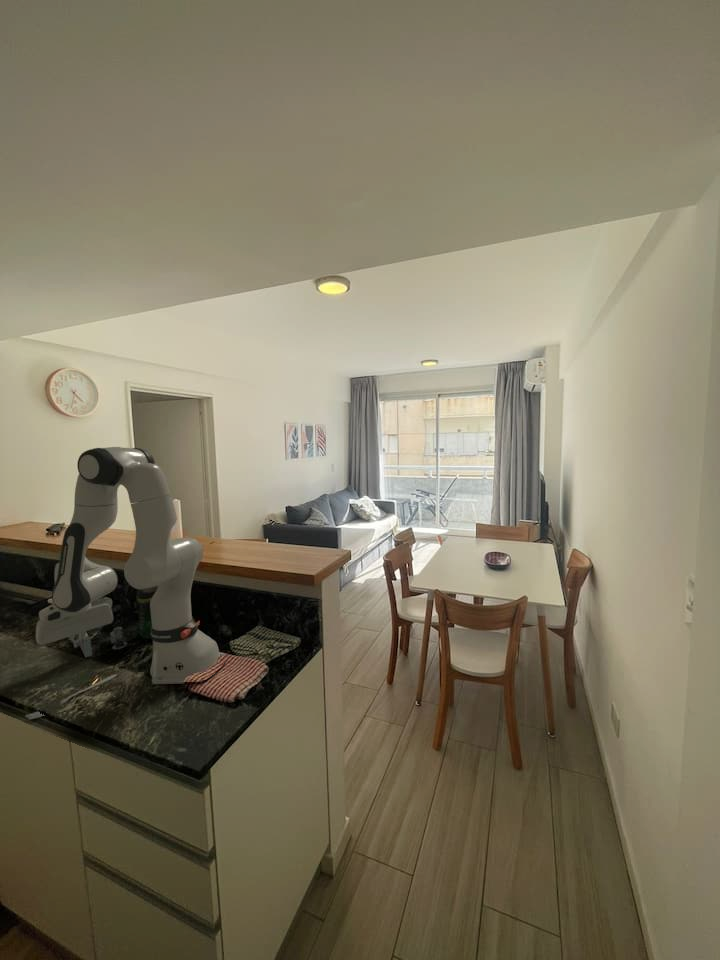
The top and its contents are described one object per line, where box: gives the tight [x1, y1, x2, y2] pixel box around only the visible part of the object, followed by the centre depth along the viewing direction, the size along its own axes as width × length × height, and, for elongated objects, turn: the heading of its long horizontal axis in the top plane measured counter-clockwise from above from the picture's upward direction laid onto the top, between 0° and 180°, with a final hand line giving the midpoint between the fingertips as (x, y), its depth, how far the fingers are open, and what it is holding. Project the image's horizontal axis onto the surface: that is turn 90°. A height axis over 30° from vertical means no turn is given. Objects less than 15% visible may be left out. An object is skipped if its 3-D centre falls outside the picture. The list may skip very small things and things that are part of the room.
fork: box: [24, 673, 118, 720], centre depth 105 cm, size 3×24×2 cm, turn 152°
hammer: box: [109, 626, 128, 651], centre depth 130 cm, size 7×5×6 cm
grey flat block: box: [78, 632, 93, 658], centre depth 127 cm, size 12×2×6 cm, turn 45°
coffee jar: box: [136, 585, 159, 640], centre depth 137 cm, size 10×8×19 cm
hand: (78, 645), depth 123 cm, fingers closed
